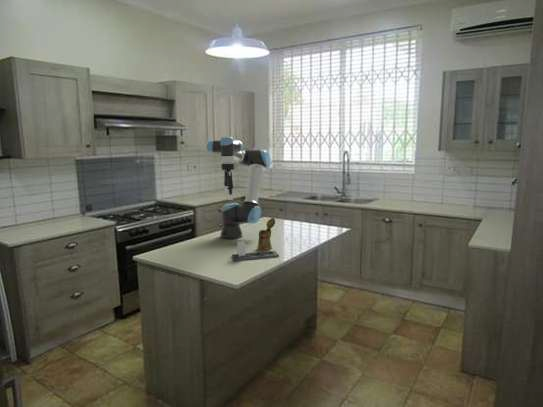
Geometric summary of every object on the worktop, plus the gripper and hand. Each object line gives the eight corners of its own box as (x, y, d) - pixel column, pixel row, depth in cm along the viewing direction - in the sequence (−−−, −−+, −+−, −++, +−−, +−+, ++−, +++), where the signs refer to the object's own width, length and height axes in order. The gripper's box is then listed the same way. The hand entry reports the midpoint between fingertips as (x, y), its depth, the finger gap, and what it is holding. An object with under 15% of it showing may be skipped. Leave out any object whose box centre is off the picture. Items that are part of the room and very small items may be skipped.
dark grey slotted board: (231, 256, 226) (231, 254, 225) (274, 252, 232) (274, 250, 232) (234, 261, 217) (233, 259, 217) (278, 256, 223) (278, 254, 223)
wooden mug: (279, 246, 244) (279, 218, 242) (265, 251, 234) (264, 222, 232) (268, 244, 250) (268, 216, 247) (254, 248, 240) (253, 220, 237)
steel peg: (237, 256, 224) (236, 241, 222) (244, 256, 225) (243, 241, 223) (238, 258, 220) (238, 243, 219) (245, 258, 221) (245, 242, 220)
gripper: (218, 162, 244) (220, 195, 248) (224, 164, 220) (225, 201, 224) (230, 161, 246) (231, 195, 249) (237, 164, 222) (238, 200, 226)
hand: (228, 198), depth 237 cm, fingers open, 13 cm apart
